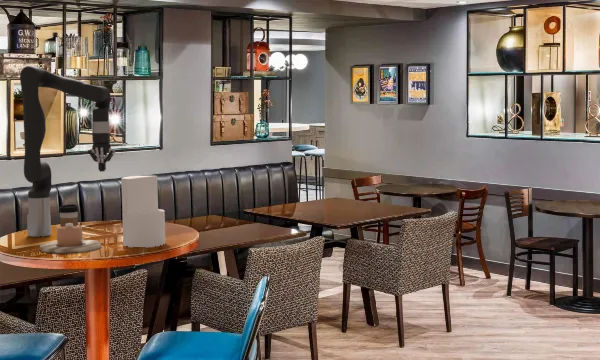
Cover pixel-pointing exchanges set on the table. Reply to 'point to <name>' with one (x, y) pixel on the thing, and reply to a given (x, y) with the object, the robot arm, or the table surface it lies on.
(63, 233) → the knobbed pink canister
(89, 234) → the table surface
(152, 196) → the grey piece
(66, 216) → the coffee cup
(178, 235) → the table surface
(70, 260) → the table surface
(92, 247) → the serving board
